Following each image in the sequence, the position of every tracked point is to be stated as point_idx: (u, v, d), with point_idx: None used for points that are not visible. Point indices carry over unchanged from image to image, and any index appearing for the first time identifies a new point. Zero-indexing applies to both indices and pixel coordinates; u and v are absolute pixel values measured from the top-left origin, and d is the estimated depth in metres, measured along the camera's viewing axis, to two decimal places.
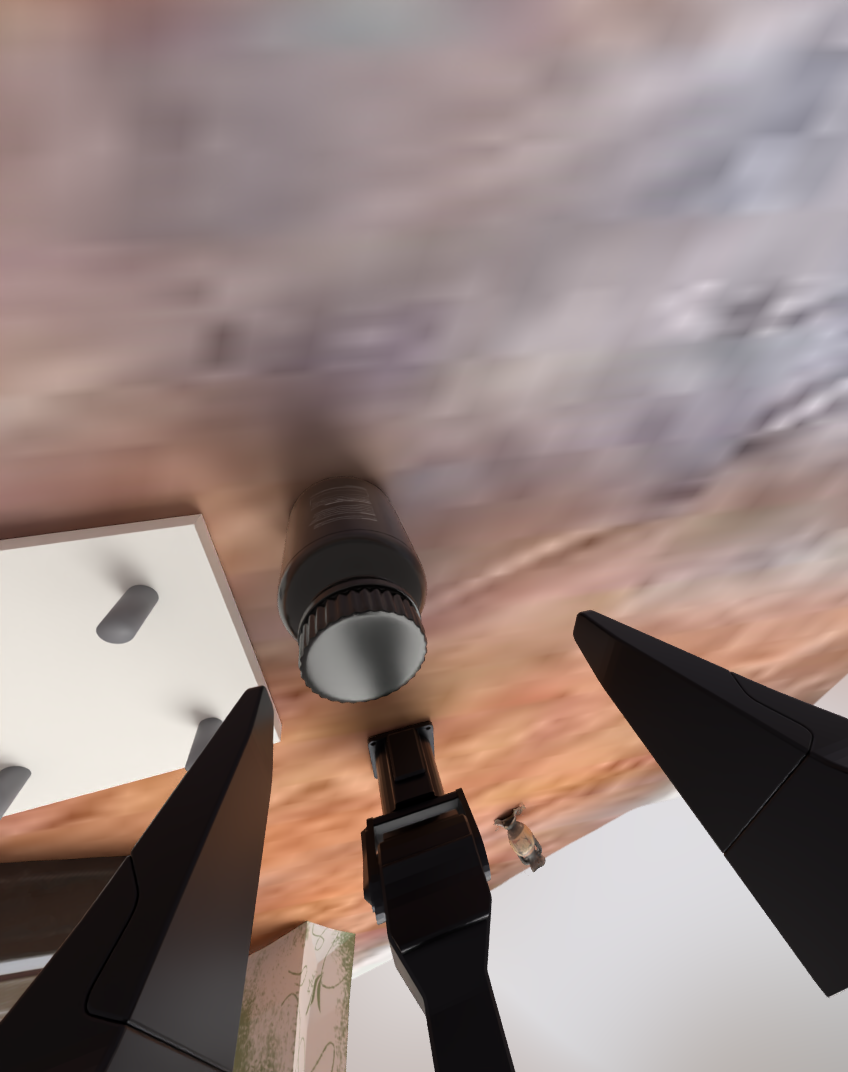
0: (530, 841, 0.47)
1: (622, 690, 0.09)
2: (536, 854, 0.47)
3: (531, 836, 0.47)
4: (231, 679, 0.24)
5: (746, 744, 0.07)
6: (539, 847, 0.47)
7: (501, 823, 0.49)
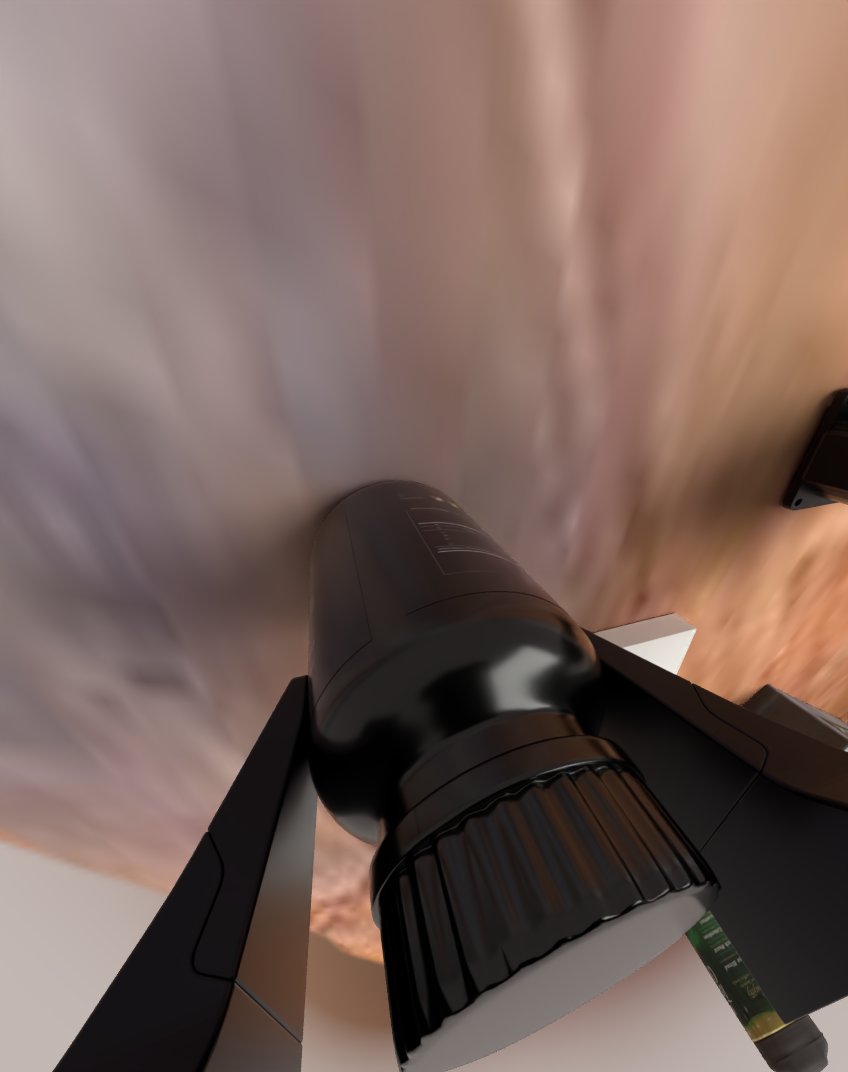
0: None
1: None
2: None
3: None
4: None
5: (702, 761, 0.06)
6: None
7: None
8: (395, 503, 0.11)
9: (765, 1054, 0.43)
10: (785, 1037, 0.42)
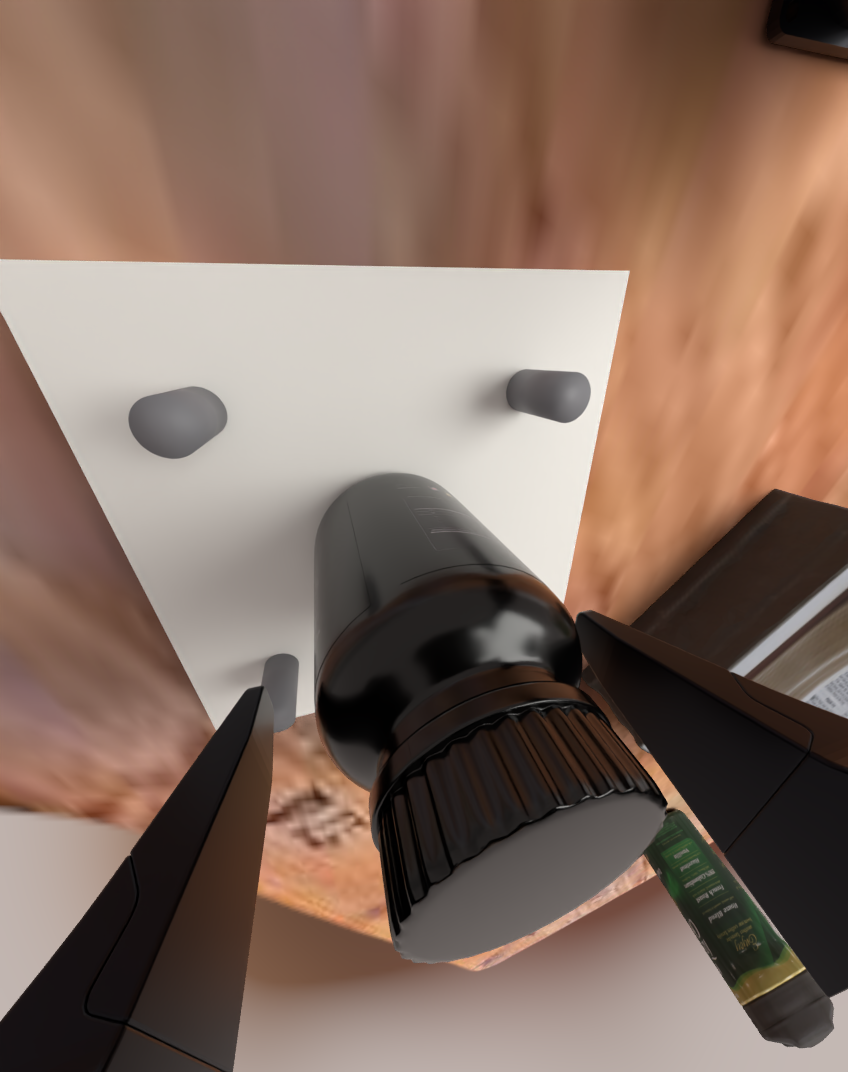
0: None
1: (622, 690, 0.09)
2: None
3: None
4: (427, 318, 0.12)
5: (746, 744, 0.07)
6: None
7: None
8: (393, 492, 0.12)
9: (756, 1019, 0.35)
10: (781, 996, 0.34)
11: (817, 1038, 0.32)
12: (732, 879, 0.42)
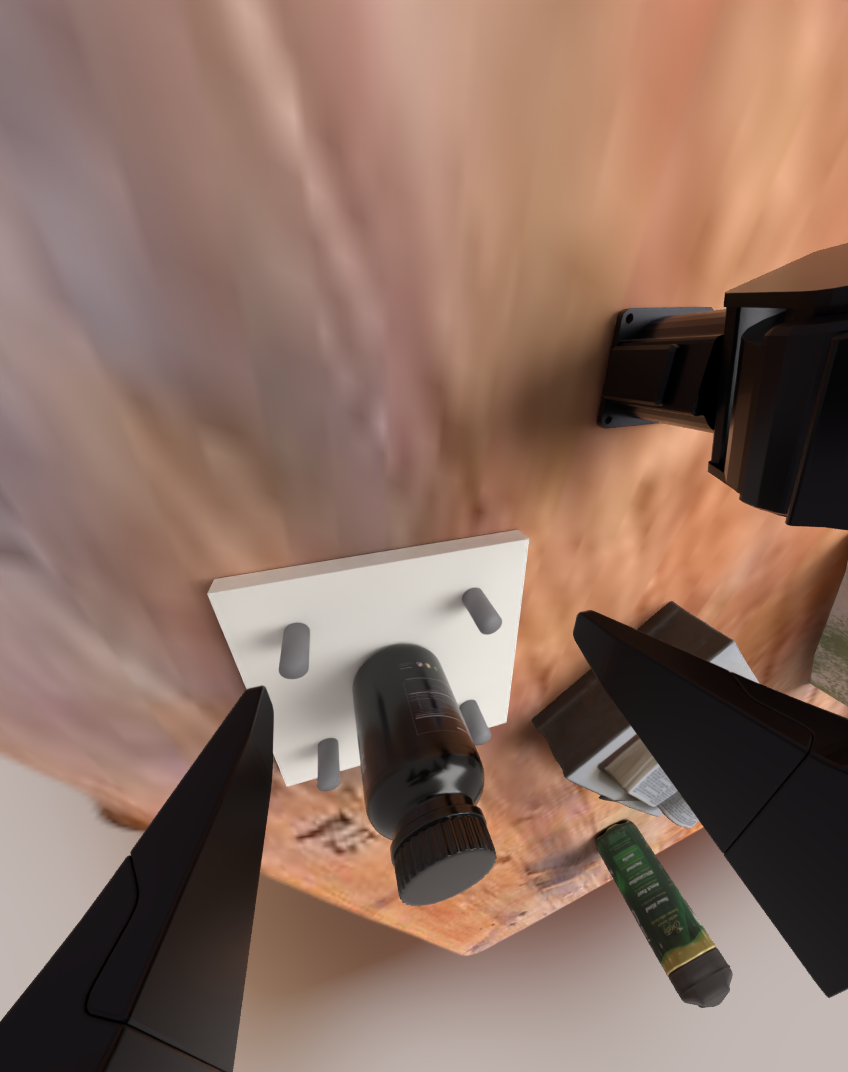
0: None
1: (622, 690, 0.09)
2: None
3: None
4: (415, 577, 0.22)
5: (746, 744, 0.07)
6: None
7: None
8: (398, 673, 0.22)
9: (675, 985, 0.45)
10: (693, 968, 0.44)
11: (716, 998, 0.43)
12: (666, 878, 0.52)
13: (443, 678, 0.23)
